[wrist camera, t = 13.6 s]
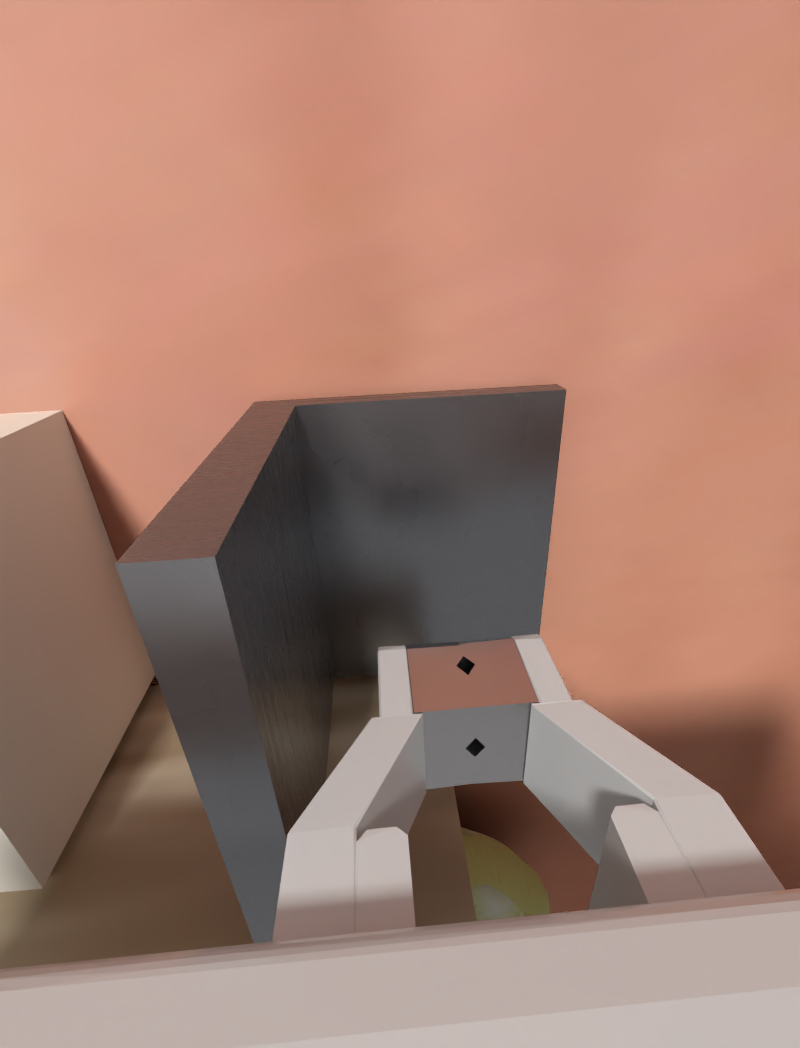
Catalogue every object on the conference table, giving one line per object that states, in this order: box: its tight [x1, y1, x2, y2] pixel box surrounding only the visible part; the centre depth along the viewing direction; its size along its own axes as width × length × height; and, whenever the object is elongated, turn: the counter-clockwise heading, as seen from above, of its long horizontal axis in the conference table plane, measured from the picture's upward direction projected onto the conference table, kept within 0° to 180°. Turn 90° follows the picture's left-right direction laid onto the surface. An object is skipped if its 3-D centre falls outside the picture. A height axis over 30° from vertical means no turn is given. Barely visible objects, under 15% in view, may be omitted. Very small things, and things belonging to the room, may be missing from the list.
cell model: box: [461, 827, 550, 921], centre depth 18 cm, size 10×8×14 cm
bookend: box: [115, 384, 566, 943], centre depth 10 cm, size 8×7×7 cm
